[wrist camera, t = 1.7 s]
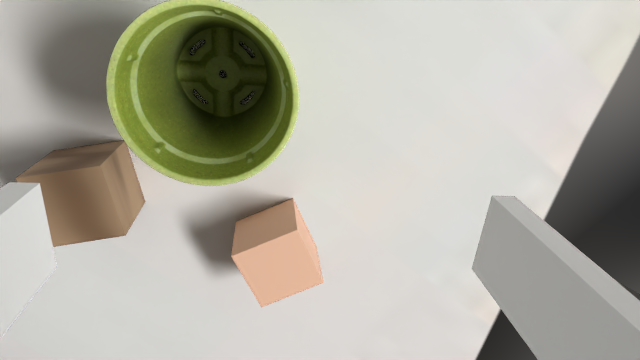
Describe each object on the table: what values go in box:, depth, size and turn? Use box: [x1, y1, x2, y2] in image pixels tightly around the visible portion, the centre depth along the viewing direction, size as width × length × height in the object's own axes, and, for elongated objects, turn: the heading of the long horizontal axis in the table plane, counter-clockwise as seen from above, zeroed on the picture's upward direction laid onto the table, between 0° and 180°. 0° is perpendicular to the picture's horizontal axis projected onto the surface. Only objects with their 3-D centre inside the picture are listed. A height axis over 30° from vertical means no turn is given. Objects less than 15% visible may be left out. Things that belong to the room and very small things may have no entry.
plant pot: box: [106, 0, 299, 186], centre depth 25 cm, size 9×9×9 cm
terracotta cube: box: [231, 199, 323, 307], centre depth 32 cm, size 5×5×5 cm
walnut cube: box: [16, 141, 145, 247], centre depth 28 cm, size 5×5×5 cm
